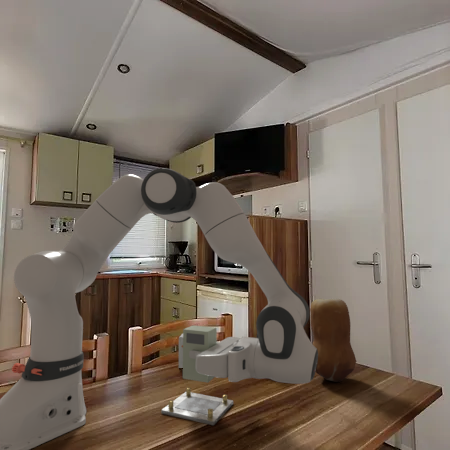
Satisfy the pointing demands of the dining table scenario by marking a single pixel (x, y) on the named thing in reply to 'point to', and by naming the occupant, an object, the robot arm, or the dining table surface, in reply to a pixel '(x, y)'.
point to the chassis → (198, 407)
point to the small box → (181, 351)
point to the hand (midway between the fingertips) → (196, 350)
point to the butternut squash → (332, 339)
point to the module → (200, 341)
